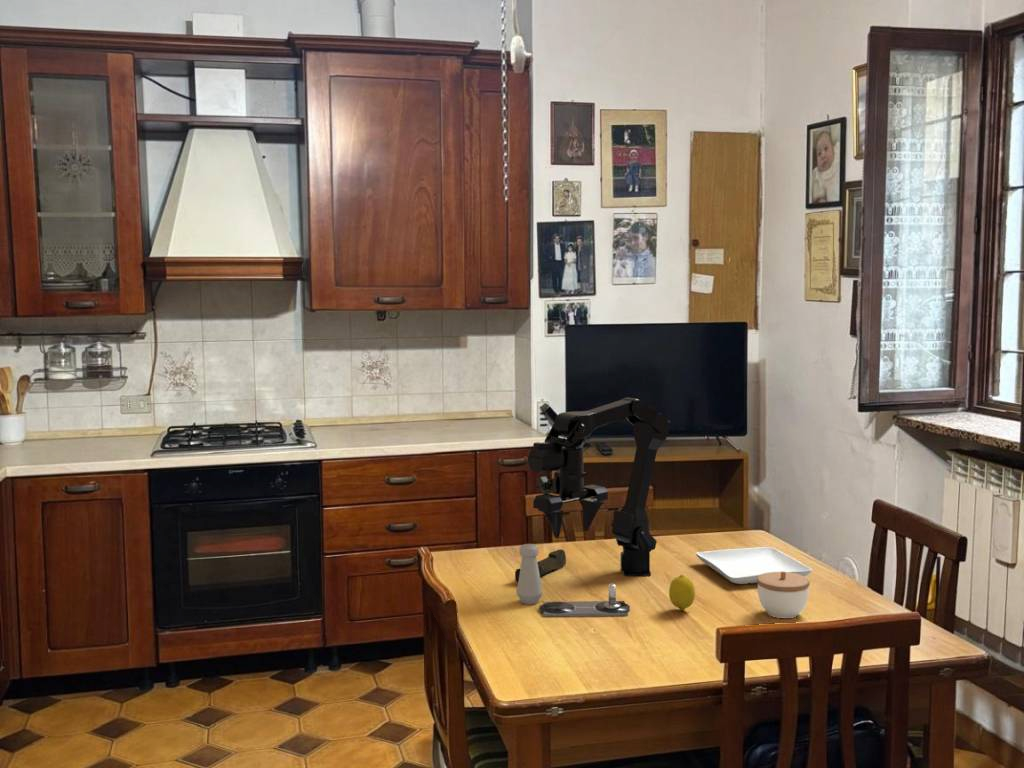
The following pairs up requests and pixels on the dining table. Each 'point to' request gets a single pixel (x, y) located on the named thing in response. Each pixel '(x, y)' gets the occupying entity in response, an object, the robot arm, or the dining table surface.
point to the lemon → (682, 592)
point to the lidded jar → (783, 593)
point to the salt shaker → (529, 575)
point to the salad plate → (751, 563)
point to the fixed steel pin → (612, 598)
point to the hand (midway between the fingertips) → (571, 534)
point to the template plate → (582, 609)
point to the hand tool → (549, 563)
